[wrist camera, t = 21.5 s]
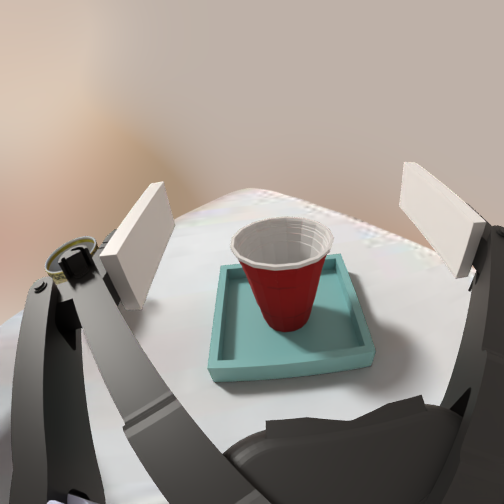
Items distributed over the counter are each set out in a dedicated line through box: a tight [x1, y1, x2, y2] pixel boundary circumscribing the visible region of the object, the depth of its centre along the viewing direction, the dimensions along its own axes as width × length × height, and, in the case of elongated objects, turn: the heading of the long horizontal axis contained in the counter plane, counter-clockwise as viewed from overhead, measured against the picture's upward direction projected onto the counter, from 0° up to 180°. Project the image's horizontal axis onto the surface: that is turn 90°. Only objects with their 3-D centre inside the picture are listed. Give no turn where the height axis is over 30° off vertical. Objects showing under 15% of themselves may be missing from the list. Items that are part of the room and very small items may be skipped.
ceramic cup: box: [45, 236, 99, 285], centre depth 43 cm, size 13×10×10 cm
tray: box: [208, 254, 376, 382], centre depth 37 cm, size 18×18×3 cm
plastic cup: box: [230, 217, 334, 332], centre depth 34 cm, size 11×11×12 cm
